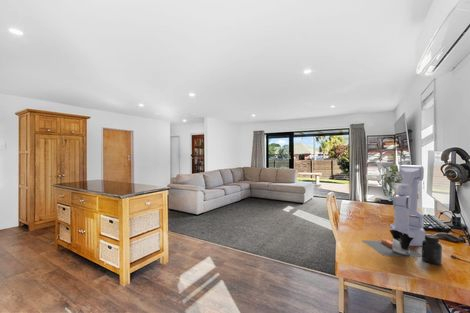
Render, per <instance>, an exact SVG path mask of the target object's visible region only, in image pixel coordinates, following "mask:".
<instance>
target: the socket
mask: <svg viewBox="0 0 470 313" xmlns="http://www.w3.org/2000/svg"><path fill="white" fill-rule="evenodd" d="M392 241H393V247H394V248H395V249H397V250H399V251H409V248H410V246H409V247H408V250H404V249H402V243H401V238H393V237H392Z"/></svg>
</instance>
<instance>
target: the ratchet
mask: <svg viewBox="0 0 470 313" xmlns="http://www.w3.org/2000/svg"><path fill="white" fill-rule="evenodd" d="M380 241H381V243H383V244H384V245H386V246H388V247H389V248H391V249H392V251H393V252H394V253H395V254H398V255H402V256H401V257H403V256H410V250H409V251H399V250H397V249H395V248H394V247H393V242H391V240H390V239H387V238H381V239H380Z"/></svg>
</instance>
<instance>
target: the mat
mask: <svg viewBox="0 0 470 313" xmlns="http://www.w3.org/2000/svg"><path fill="white" fill-rule="evenodd" d="M390 241H391V240H390ZM361 242H362V243H365V244H366V245H367V246H369V247H370V248H372V249H373V250H374V251H376V252H377V253H379V254H381V255H382V256H385V257H404V258H405V257H406V258H407V257H409V258H410V257H411V258H422V253H419V252H417V251H415V250H414V249H412V248H410V247H409V250H410V256H402V255H398V254H395V253H394V252H393V251H392V249H391V248H389V247H388V246H386V245H384V244H383V243H381V240H364V239H362V240H361ZM391 242H393V240H392V241H391Z"/></svg>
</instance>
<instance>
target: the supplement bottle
mask: <svg viewBox="0 0 470 313" xmlns="http://www.w3.org/2000/svg"><path fill="white" fill-rule="evenodd" d="M442 253H443V246H442V244H441V243H440V237H439V236H437V235H434V234H426V235H425V240H424V241H422V246H421V255H422V257H421V261H423V262H424V263H426V264H429V265H434V266H441V265H442V262H443V259H442V258H443V254H442Z"/></svg>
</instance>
